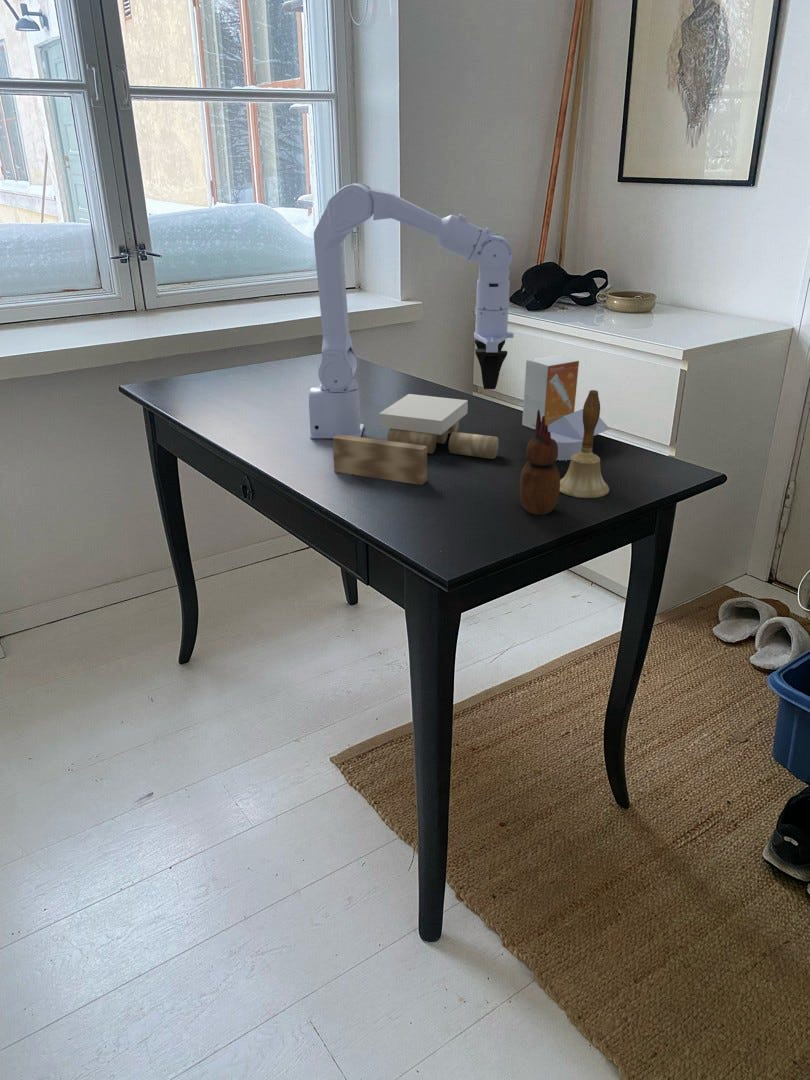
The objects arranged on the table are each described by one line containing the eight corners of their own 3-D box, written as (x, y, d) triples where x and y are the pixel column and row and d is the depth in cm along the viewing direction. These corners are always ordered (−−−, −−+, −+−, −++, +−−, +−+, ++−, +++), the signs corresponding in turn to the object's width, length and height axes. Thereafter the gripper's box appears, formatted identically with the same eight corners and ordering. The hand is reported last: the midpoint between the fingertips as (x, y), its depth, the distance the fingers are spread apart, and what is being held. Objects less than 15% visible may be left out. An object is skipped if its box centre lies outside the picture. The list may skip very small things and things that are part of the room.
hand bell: (583, 476, 136) (592, 381, 129) (620, 491, 130) (631, 393, 123) (545, 486, 132) (552, 389, 125) (581, 502, 125) (591, 401, 119)
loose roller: (448, 456, 145) (448, 435, 143) (455, 449, 148) (456, 428, 147) (491, 462, 142) (492, 441, 141) (498, 454, 146) (499, 433, 144)
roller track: (366, 466, 140) (366, 444, 138) (420, 425, 161) (420, 406, 159) (409, 472, 137) (409, 450, 136) (458, 430, 158) (459, 410, 156)
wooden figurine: (516, 501, 126) (522, 406, 120) (554, 501, 126) (561, 407, 119) (520, 519, 120) (526, 420, 113) (560, 519, 120) (568, 420, 113)
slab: (379, 426, 147) (378, 413, 146) (408, 406, 159) (408, 393, 158) (441, 434, 143) (441, 420, 142) (467, 413, 155) (467, 400, 153)
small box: (543, 433, 156) (548, 365, 150) (521, 425, 161) (525, 359, 155) (574, 426, 160) (580, 360, 154) (551, 418, 165) (556, 353, 159)
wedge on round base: (566, 436, 155) (525, 452, 146) (569, 401, 152) (527, 416, 143) (608, 446, 149) (568, 464, 141) (611, 411, 146) (571, 427, 138)
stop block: (334, 471, 138) (332, 437, 135) (339, 467, 140) (338, 434, 137) (422, 485, 132) (422, 449, 130) (426, 480, 134) (427, 446, 131)
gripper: (517, 315, 138) (512, 394, 144) (512, 301, 151) (508, 373, 157) (475, 315, 139) (472, 393, 144) (474, 300, 152) (472, 373, 157)
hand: (489, 383), depth 151 cm, fingers open, 7 cm apart
